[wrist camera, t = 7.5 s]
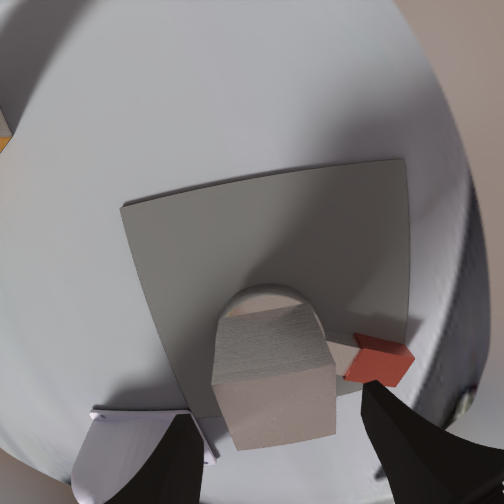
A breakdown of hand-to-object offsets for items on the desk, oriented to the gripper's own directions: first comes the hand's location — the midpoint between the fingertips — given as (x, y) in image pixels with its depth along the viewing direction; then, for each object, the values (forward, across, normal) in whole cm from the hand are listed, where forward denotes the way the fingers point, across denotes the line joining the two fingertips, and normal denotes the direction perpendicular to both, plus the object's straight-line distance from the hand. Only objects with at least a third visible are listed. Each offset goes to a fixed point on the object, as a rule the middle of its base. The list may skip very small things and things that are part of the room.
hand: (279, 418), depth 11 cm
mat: (+7, -1, -1) cm, 7 cm away
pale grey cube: (+5, 0, 0) cm, 5 cm away
